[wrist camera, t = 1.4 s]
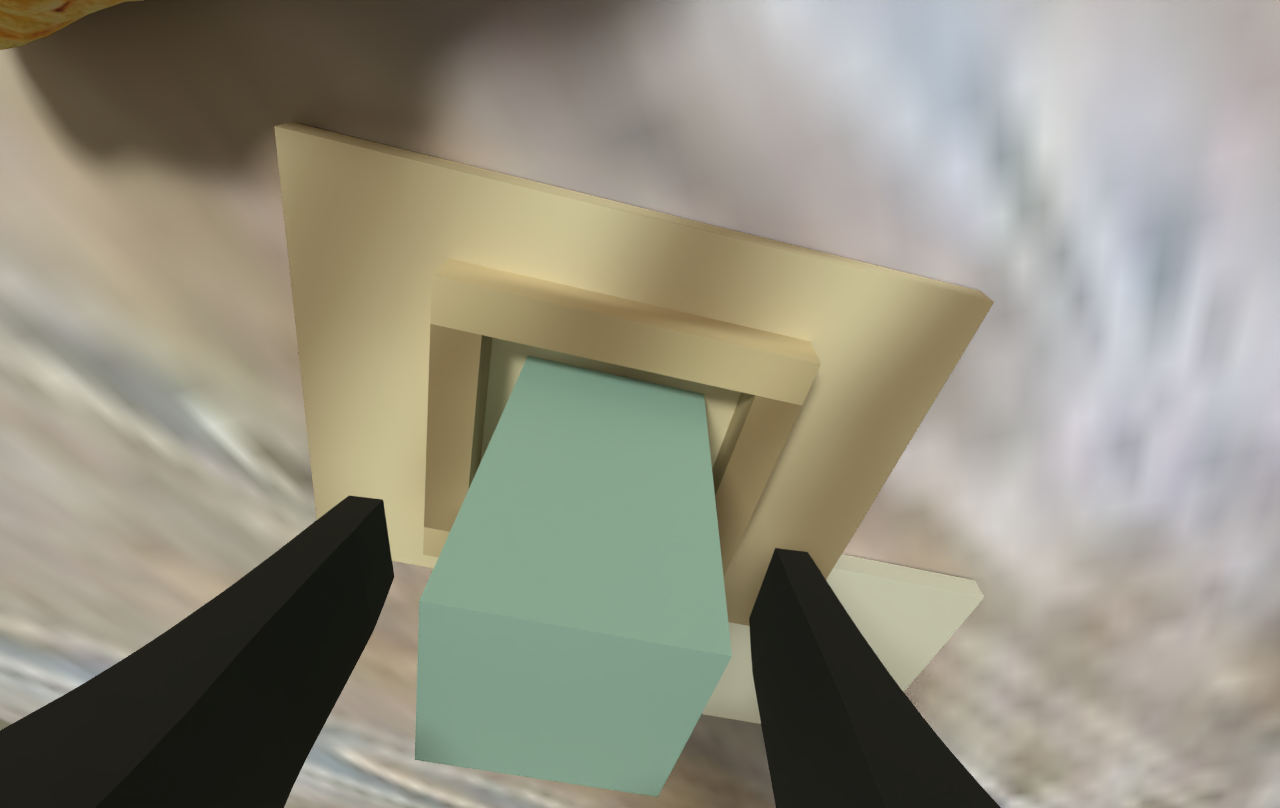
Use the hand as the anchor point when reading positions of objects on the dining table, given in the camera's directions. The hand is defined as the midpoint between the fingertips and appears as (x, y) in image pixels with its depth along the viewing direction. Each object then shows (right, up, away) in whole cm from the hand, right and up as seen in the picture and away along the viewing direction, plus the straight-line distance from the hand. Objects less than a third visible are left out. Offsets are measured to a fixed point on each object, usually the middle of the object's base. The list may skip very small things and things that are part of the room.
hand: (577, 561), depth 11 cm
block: (0, +2, +3) cm, 4 cm away
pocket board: (0, +2, +4) cm, 4 cm away
